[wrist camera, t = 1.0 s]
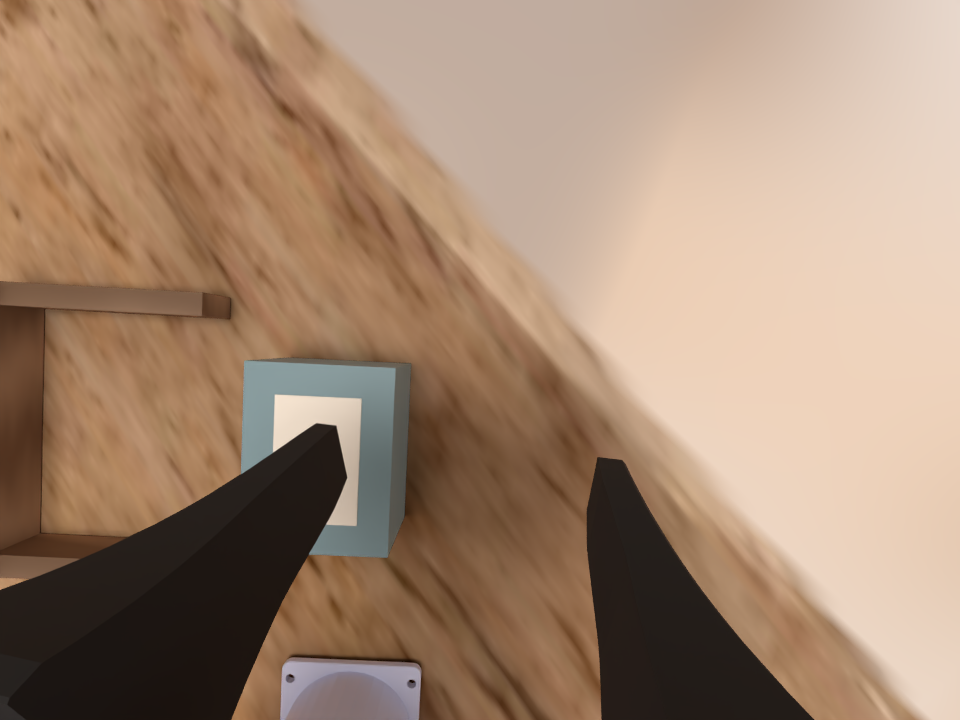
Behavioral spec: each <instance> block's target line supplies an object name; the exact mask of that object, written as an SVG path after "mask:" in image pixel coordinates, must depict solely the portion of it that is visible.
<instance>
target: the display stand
mask: <svg viewBox="0 0 960 720" xmlns="http://www.w3.org/2000/svg"><path fill="white" fill-rule="evenodd" d="M230 302H231V298H228V297H223V296H218V295H212V294H207V293H201V292H183V291H165V290H147V289H130V288H112V287H94V286H76V285H58V284H40V283H22V282H4V281H0V578H19V579H32V578H34V577H37V576H40V575H42V574H45V573H47V572H50V571H52V570H55V569H57V568H60V567H62V566H65V565H67V564H69V563H72V562H74V561H77V560H79V559H81V558H84V557H86V556H88V555H91V554H93V553H95V552H98V551H100V550H102V549H104V548H107V547H109V546H111V545H113V544H115V543H117V542H119V541H121V540H123V539H125V538H126V537H106V536H85V535H64V534H44V533H40V511H41V461H42V410H43V360H44V309H57V310H76V311H94V312H112V313H130V314H148V315H166V316H184V317H202V318H220V319H230Z"/></svg>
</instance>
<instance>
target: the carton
mask: <svg viewBox="0 0 960 720" xmlns="http://www.w3.org/2000/svg"><path fill="white" fill-rule="evenodd" d="M410 380H411V363H391V362H370V361H350V360H329V359H309V358H276V359H261V360H247V361H244V391H243V424H242V458H241V474H242V473H244V472H245V471H247V470H248V469H250V468H251V467H253V466H254V465H256V464H257V463H259V462H260V461H262V460H263V459H264V458H266V457H267V456H269V455H270V454H272V453H273V452H275V451H276V450H278V449H279V448H280V447H282V446H283V445H285V444H286V443H288V442H289V441H290V440H292V439H293V438H295V437H296V436H298V435H299V434H301V433H302V432H304V431H305V430H306V429H308V428H310V427H311V426H313V425H314V424H316V423H320V424H328V425H336V426H337V431H338V435H339V440H340V445H341V450H342V454H343V459H344V464H345V469H346V473H347V480H346V483H345V485H344V488H343V490H342V493H341V495H340V497H339V500H338V502H337V504H336V507H335V509H334V511H333V513H332V515H331V516H330V518H329V520H328V522H327V524H326V525H325V527H324V529H323V531H322V532H321V534H320V536H319V538H318V539H317V541H316V543H315V545H314V546H313V548H312V550H311V551H310V553H309V554H312V555H335V556H358V557H381V558H388V555H389V553H390V550H391V548H392V546H393V543H394V541H395V538H396V536H397V534H398V531H399V529H400V526H401V524H402V521H403V519H404V516H405V493H406V471H407V448H408V425H409V402H410Z"/></svg>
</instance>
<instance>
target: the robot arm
mask: <svg viewBox="0 0 960 720" xmlns="http://www.w3.org/2000/svg"><path fill="white" fill-rule="evenodd" d="M346 480H347V473H346V469H345V464H344V459H343V454H342V450H341V445H340V440H339V435H338V431H337V426H336V425H328V424H320V423H316V424H314V425H313V426H311V427H310V428H308V429H306V430H305V431H304V432H302V433H301V434H299V435H298V436H296V437H295V438H293V439H292V440H290V441H289V442H288V443H286V444H285V445H283V446H282V447H280V448H279V449H278V450H276V451H275V452H273V453H272V454H270V455H269V456H267V457H266V458H264V459H263V460H262V461H260V462H259V463H257V464H256V465H254V466H253V467H251V468H250V469H248V470H247V471H245V472H244V473H242V474H241V475H239V476H237V477H236V478H234V479H233V480H231V481H229V482H228V483H226V484H225V485H223V486H222V487H220V488H218V489H217V490H215V491H214V492H212V493H210V494H209V495H207V496H205V497H204V498H202V499H200V500H199V501H197V502H195V503H193V504H192V505H190V506H188V507H186V508H185V509H183V510H181V511H179V512H177V513H175V514H173V515H172V516H170V517H168V518H166V519H164V520H162V521H160V522H158V523H157V524H155V525H153V526H151V527H148V528H146V529H144V530H142V531H140V532H138V533H136V534H134V535H132V536H130V537H128V538H125V539H123V540H121V541H119V542H117V543H115V544H113V545H111V546H109V547H107V548H104V549H102V550H100V551H98V552H95V553H93V554H91V555H88V556H86V557H84V558H81V559H79V560H77V561H74V562H72V563H69V564H67V565H65V566H62V567H60V568H57V569H55V570H52V571H50V572H47V573H45V574H42V575H40V576H37V577H34V578H32V579H29V580H26V581H24V582H21V583H18V584H15V585H13V586H10V587H7V588H4V589H2V590H0V720H231V719H232V716H233V714H234V711H235V709H236V706H237V704H238V701H239V699H240V696H241V694H242V691H243V689H244V686H245V684H246V681H247V679H248V677H249V674H250V672H251V670H252V667H253V665H254V663H255V661H256V658H257V656H258V654H259V651H260V649H261V647H262V644H263V642H264V640H265V638H266V635H267V633H268V631H269V629H270V627H271V625H272V622H273V620H274V618H275V616H276V614H277V612H278V609H279V607H280V605H281V603H282V601H283V599H284V597H285V595H286V594H287V592H288V590H289V588H290V586H291V584H292V582H293V581H294V579H295V577H296V576H297V574H298V572H299V570H300V569H301V567H302V565H303V564H304V562H305V560H306V558H307V557H308V555H309V553H310V551H311V550H312V548H313V546H314V545H315V543H316V541H317V539H318V538H319V536H320V534H321V532H322V531H323V529H324V527H325V525H326V524H327V522H328V520H329V518H330V516H331V515H332V513H333V511H334V509H335V507H336V504H337V502H338V500H339V497H340V495H341V493H342V490H343V488H344V485H345V483H346ZM587 552H588V561H589V570H590V578H591V587H592V595H593V603H594V611H595V620H596V628H597V636H598V646H599V658H600V683H601V714H602V720H814V719H813V718H812V717H811V716H810V715H809V714H808V713H807V712H806V711H805V710H804V708H803V707H802V706H801V705H800V704H799V703H798V702H797V701H796V700H795V699H794V698H793V697H792V696H791V695H790V694H789V693H788V692H787V691H786V689H785V688H784V687H783V686H782V685H781V684H780V683H779V682H778V681H777V679H776V678H775V677H774V676H773V675H772V674H771V673H770V672H769V670H768V669H767V668H766V667H765V666H764V665H763V664H762V663H761V662H760V660H759V659H758V658H757V657H756V656H755V655H754V654H753V653H752V651H751V650H750V649H749V648H748V647H747V646H746V645H745V644H744V642H743V641H742V640H741V639H740V638H739V636H738V635H737V634H736V633H735V632H734V630H733V629H732V628H731V627H730V625H729V624H728V623H727V622H726V621H725V619H724V618H723V617H722V616H721V614H720V613H719V612H718V611H717V609H716V608H715V607H714V605H713V604H712V603H711V601H710V600H709V599H708V598H707V596H706V595H705V594H704V592H703V591H702V590H701V588H700V587H699V586H698V584H697V583H696V581H695V580H694V579H693V577H692V576H691V574H690V573H689V572H688V570H687V569H686V567H685V566H684V564H683V563H682V561H681V560H680V558H679V557H678V555H677V554H676V552H675V551H674V549H673V548H672V546H671V545H670V543H669V542H668V540H667V539H666V537H665V535H664V534H663V532H662V530H661V529H660V527H659V525H658V524H657V522H656V520H655V519H654V517H653V515H652V514H651V512H650V510H649V508H648V507H647V505H646V503H645V501H644V499H643V498H642V496H641V494H640V492H639V490H638V488H637V486H636V485H635V483H634V481H633V479H632V477H631V475H630V473H629V470H628V468H627V466H626V464H625V463H624V462H623V461H622V460H616V459H608V458H600V457H598V458H597V463H596V468H595V473H594V478H593V483H592V488H591V493H590V497H589V502H588V507H587ZM289 674H291V675H293V676H294V678H292V677H290V676H289ZM409 680H414V681H415V683H410V682H409ZM420 689H421V668H420V666H419V665H418V664H416V663H408V662H386V661H364V660H342V659H319V658H297V657H292V658H289V659H287V660H286V662H285V663H284V665H283V668H282V684H281V710H280V720H419V708H420Z"/></svg>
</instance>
